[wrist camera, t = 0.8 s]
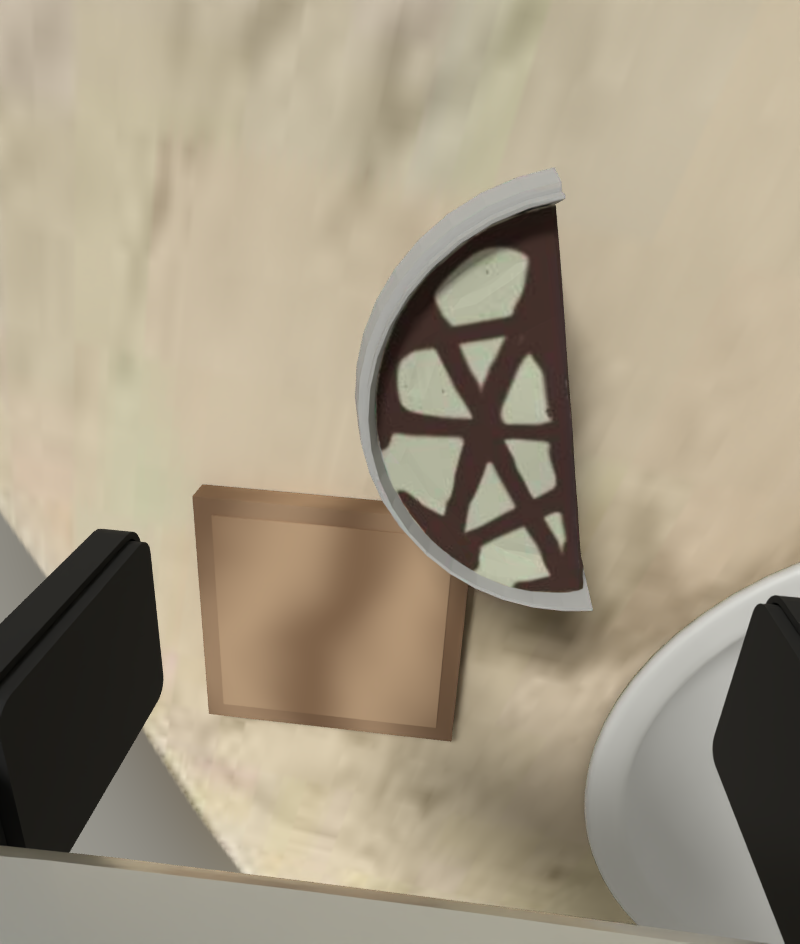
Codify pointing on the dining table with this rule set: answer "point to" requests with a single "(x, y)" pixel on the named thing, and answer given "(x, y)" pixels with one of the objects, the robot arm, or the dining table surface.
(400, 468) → the food container
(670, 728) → the soup bowl
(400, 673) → the board
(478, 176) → the dining table surface
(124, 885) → the robot arm
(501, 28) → the dining table surface
